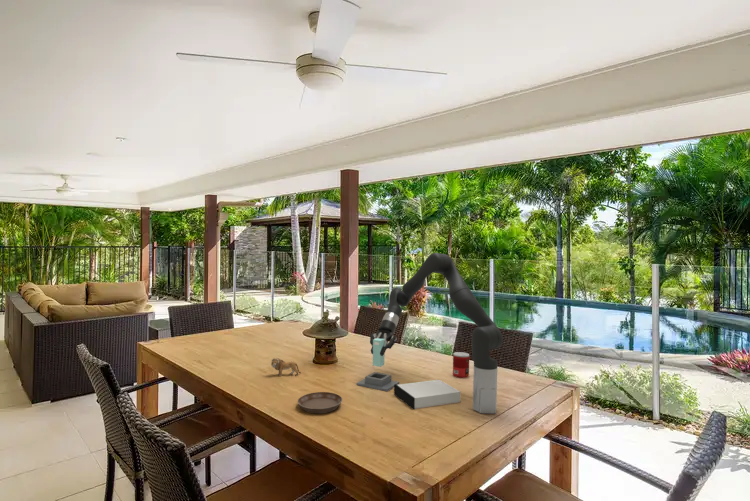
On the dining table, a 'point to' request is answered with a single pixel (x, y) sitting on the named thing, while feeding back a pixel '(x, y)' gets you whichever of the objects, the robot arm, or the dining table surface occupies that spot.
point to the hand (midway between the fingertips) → (376, 354)
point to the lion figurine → (284, 366)
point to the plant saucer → (319, 402)
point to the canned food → (461, 364)
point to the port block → (378, 381)
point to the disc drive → (426, 393)
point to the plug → (378, 352)
